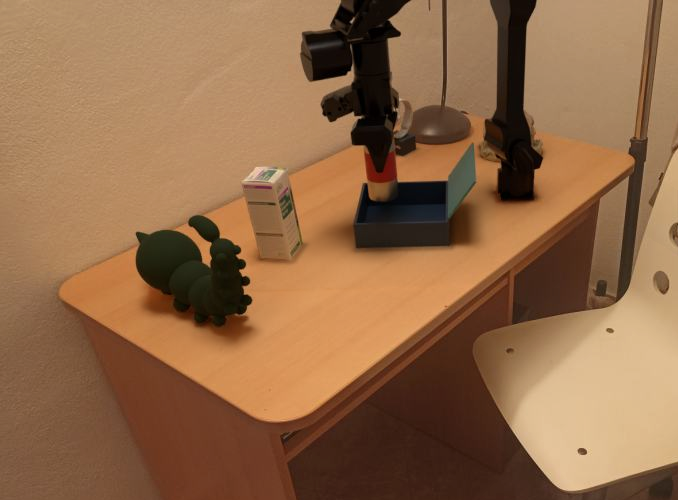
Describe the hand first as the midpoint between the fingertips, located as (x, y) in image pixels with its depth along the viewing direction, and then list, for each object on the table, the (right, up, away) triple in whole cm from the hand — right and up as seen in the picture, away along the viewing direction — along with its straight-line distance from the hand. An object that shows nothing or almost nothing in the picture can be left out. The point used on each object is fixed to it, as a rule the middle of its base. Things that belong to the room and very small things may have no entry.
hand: (381, 165), depth 115 cm
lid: (+13, -2, +2) cm, 14 cm away
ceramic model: (+25, +11, +32) cm, 42 cm away
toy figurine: (-27, -25, -10) cm, 38 cm away
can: (0, -4, +3) cm, 6 cm away
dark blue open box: (+4, -9, +8) cm, 12 cm away
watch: (+1, +13, +35) cm, 38 cm away
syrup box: (-17, -15, +2) cm, 23 cm away
